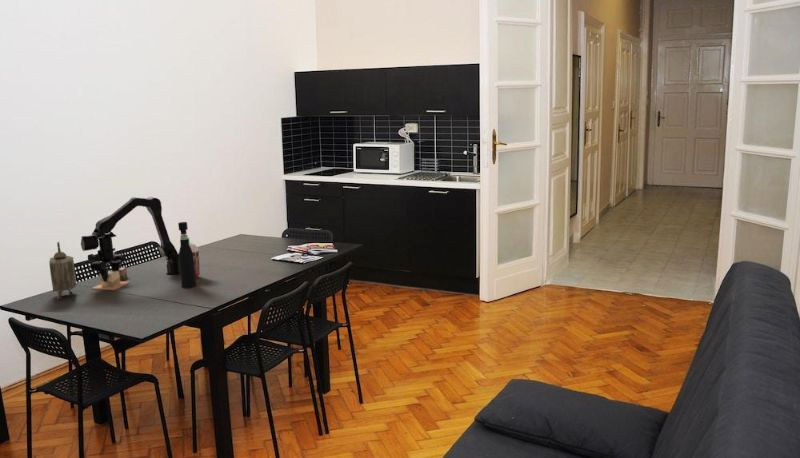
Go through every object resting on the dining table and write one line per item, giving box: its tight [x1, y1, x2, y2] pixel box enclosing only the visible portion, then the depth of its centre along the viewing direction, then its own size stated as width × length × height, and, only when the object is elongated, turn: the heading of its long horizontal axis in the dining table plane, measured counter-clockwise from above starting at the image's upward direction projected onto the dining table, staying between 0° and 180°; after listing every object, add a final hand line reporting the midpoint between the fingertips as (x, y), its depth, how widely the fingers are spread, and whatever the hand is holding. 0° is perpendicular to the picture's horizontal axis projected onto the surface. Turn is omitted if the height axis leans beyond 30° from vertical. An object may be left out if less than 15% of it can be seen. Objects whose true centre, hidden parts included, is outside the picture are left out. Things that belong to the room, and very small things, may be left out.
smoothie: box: [188, 237, 201, 279], centre depth 335 cm, size 8×8×20 cm
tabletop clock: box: [48, 241, 77, 301], centre depth 312 cm, size 14×9×25 cm, turn 23°
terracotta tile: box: [91, 280, 131, 291], centre depth 328 cm, size 12×12×1 cm
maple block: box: [99, 270, 121, 287], centre depth 327 cm, size 6×6×6 cm
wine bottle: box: [177, 221, 197, 289], centre depth 319 cm, size 6×6×30 cm
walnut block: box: [119, 267, 128, 281], centre depth 341 cm, size 5×5×5 cm
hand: (110, 279), depth 327 cm, fingers open, 7 cm apart
